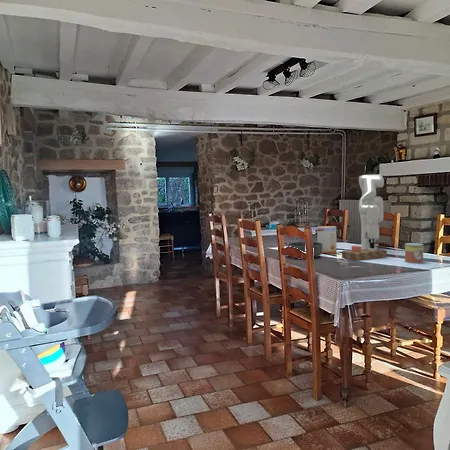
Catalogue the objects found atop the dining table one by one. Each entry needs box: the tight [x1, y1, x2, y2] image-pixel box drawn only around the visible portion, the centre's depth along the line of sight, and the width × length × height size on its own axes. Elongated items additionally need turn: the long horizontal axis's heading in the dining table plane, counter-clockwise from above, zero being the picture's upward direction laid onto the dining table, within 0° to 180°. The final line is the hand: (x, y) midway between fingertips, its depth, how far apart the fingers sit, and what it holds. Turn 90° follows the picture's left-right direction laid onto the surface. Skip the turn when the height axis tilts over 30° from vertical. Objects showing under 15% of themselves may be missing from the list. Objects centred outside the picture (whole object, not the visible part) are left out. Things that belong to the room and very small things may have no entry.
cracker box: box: [316, 225, 338, 255], centre depth 322 cm, size 14×6×21 cm, turn 84°
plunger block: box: [341, 248, 388, 262], centre depth 299 cm, size 28×14×5 cm, turn 111°
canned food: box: [404, 242, 424, 264], centre depth 279 cm, size 11×11×12 cm
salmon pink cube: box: [351, 244, 361, 252], centre depth 296 cm, size 4×4×4 cm
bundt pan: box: [286, 241, 323, 258], centre depth 310 cm, size 26×26×10 cm
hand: (372, 247), depth 301 cm, fingers closed
